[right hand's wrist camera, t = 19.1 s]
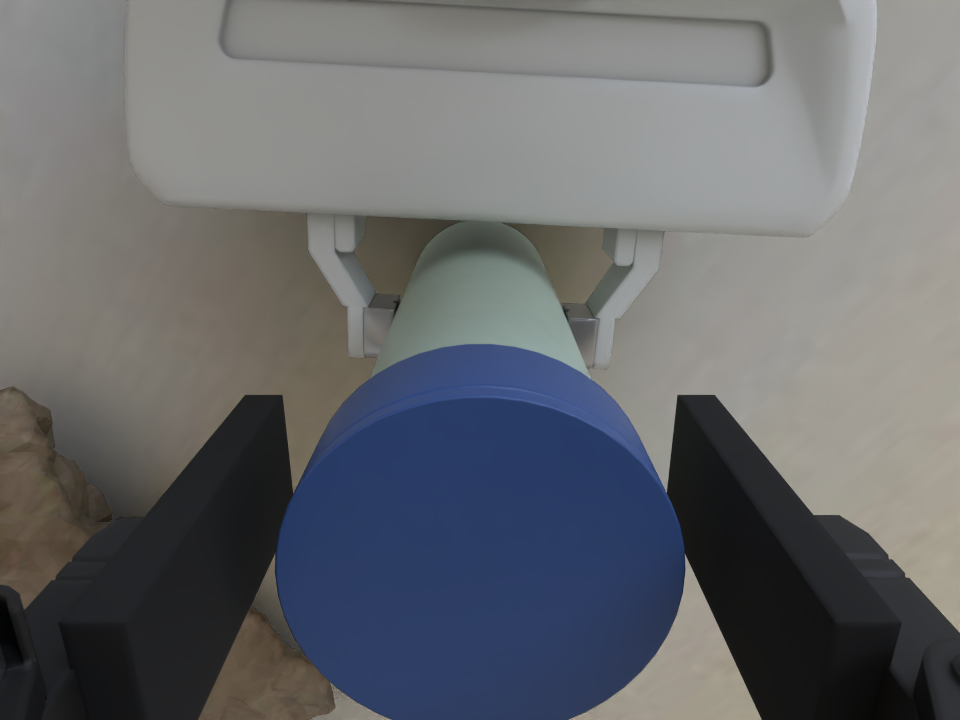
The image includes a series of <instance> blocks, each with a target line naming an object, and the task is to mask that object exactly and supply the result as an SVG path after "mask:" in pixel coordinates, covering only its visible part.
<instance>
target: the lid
mask: <svg viewBox="0 0 960 720" xmlns="http://www.w3.org/2000/svg"><path fill="white" fill-rule="evenodd" d="M275 576H276V583H277V591H278V597H279V600H280V604H281V607H282V610H283V614H284V617H285V619H286V622H287V624H288V626H289V628H290V630H291V632H292V634H293V637H294V638H295V640H296V641H297V643H298V645H299V646H300V648H301V649H302V651H303V652H304V654H305V655H306V657H307V658H308V659H309V660H310V661H311V663H312V664H313V665H314V666H315V667H316V668H317V670H318V671H319V672H320V673H321V674H322V675H323V676H324V677H325V678H326V679H328V680H329V681H330V682H331V683H332V684H333V685H334V686H335V687H336V688H337V689H339V690H340V691H342V692H343V693H344V694H346V695H347V696H349V697H350V698H352V699H353V700H354V701H356V702H357V703H359V704H361V705H363V706H365V707H366V708H368V709H370V710H372V711H374V712H375V713H377V714H380V715H382V716H385V717H387V718H389V719H392V720H569V719H571V718H573V717H576V716H578V715H580V714H583V713H585V712H587V711H589V710H590V709H592V708H594V707H596V706H597V705H599V704H601V703H603V702H604V701H606V700H608V699H609V698H610V697H612V696H613V695H614V694H616V693H617V692H618V691H620V690H621V689H623V688H624V687H625V686H626V685H627V684H628V683H629V682H631V681H632V680H633V679H634V678H635V677H636V676H637V675H638V674H639V673H640V672H641V671H642V670H643V669H644V668H645V666H646V665H647V664H648V663H649V662H650V660H651V659H652V658H653V657H654V656H655V654H656V653H657V651H658V650H659V648H660V647H661V645H662V643H663V642H664V640H665V639H666V637H667V635H668V633H669V631H670V629H671V626H672V624H673V622H674V620H675V617H676V615H677V612H678V608H679V605H680V601H681V597H682V594H683V586H684V578H685V549H684V543H683V538H682V533H681V528H680V524H679V522H678V519H677V516H676V514H675V511H674V508H673V506H672V503H671V501H670V499H669V497H668V495H667V493H666V491H665V489H664V487H663V485H662V483H661V481H660V479H659V476H658V474H657V472H656V470H655V468H654V466H653V464H652V462H651V460H650V458H649V456H648V454H647V452H646V450H645V448H644V446H643V444H642V442H641V440H640V437H639V436H638V434H637V432H636V430H635V428H634V427H633V425H632V423H631V421H630V420H629V418H628V417H627V415H626V414H625V413H624V411H623V410H622V409H621V408H620V406H619V405H618V404H617V402H616V401H615V400H614V399H613V398H612V397H611V396H610V395H609V394H608V393H607V392H606V391H605V390H604V389H602V388H601V387H600V386H599V385H598V384H597V383H595V382H594V381H592V380H591V379H590V378H588V377H587V376H586V375H584V374H583V373H582V372H580V371H578V370H576V369H574V368H572V367H571V366H569V365H567V364H565V363H563V362H561V361H559V360H557V359H554V358H551V357H549V356H546V355H544V354H541V353H538V352H534V351H530V350H526V349H522V348H518V347H513V346H504V345H496V344H464V345H456V346H448V347H442V348H438V349H434V350H430V351H426V352H423V353H419V354H416V355H414V356H411V357H409V358H406V359H404V360H401V361H399V362H397V363H395V364H393V365H391V366H390V367H388V368H386V369H384V370H382V371H381V372H379V373H377V374H376V375H374V376H373V377H372V378H370V379H369V380H368V381H366V382H365V383H364V384H363V385H361V386H360V387H359V388H358V389H357V390H356V391H355V392H354V393H353V394H352V395H351V396H350V397H349V398H348V399H347V400H346V401H345V402H344V403H343V404H342V405H341V406H340V408H339V409H338V410H337V412H336V413H335V414H334V416H333V417H332V418H331V420H330V422H329V423H328V425H327V427H326V429H325V431H324V433H323V434H322V436H321V438H320V440H319V442H318V444H317V446H316V448H315V450H314V453H313V455H312V457H311V459H310V461H309V463H308V465H307V467H306V469H305V471H304V473H303V475H302V477H301V479H300V481H299V483H298V485H297V488H296V490H295V492H294V494H293V496H292V498H291V500H290V502H289V504H288V506H287V509H286V512H285V515H284V517H283V520H282V523H281V526H280V529H279V535H278V540H277V546H276V555H275Z"/></svg>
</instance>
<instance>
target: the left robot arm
mask: <svg viewBox="0 0 960 720" xmlns="http://www.w3.org/2000/svg"><path fill="white" fill-rule="evenodd" d="M876 33H877V3H876V0H127V2H126V18H125V44H124V100H125V123H126V139H127V149H128V157H129V162H130V165H131V168H132V170H133V171H134V173H135V174H136V175H137V177H138V178H139V179H140V180H141V181H142V183H143V184H144V185H145V186H146V187H147V189H148V190H149V191H150V192H151V193H152V195H153V196H154V197H155V198H156V199H157V200H158V201H159V202H161V203H162V204H164V205H168V206H179V207H198V208H218V209H238V210H258V211H278V212H298V213H307V231H308V251H309V253H310V255H311V256H312V258H313V259H314V261H315V263H316V264H317V266H318V267H319V269H320V271H321V272H322V274H323V275H324V277H325V279H326V280H327V282H328V283H329V285H330V286H331V288H332V290H333V291H334V293H335V294H336V296H337V298H338V299H339V301H340V302H341V304H342V306H345V307H347V329H348V353H349V357H354V358H378V355H379V353H380V351H381V348H382V346H383V343H384V341H385V338H386V336H387V334H388V331H389V329H390V326H391V324H392V322H393V319H394V317H395V314H396V312H397V309H398V307H399V305H400V295H390V294H376V291H375V289H374V288H373V286H372V284H371V282H370V280H369V279H368V277H367V275H366V273H365V271H364V269H363V268H362V266H361V264H360V262H359V260H358V259H357V257H356V255H355V253H354V251H353V250H354V249H355V248H356V247H357V246H358V245H359V243H360V242H361V241H362V240H363V239H364V238H365V237H366V216H378V217H397V218H417V219H437V220H457V221H477V222H497V223H517V224H537V225H557V226H577V227H597V228H604V235H603V245H602V249H603V250H604V251H605V253H606V254H607V255H608V256H609V257H610V258H611V259H612V260H613V261H614V263H613V264H612V266H611V267H610V268H609V270H608V271H607V273H606V274H605V276H604V277H603V279H602V280H601V281H600V283H599V284H598V286H597V287H596V289H595V290H594V292H593V293H592V294H591V296H590V297H589V299H588V300H587V302H586V303H587V304H579V303H562V310H563V312H564V314H565V317H566V319H567V322H568V324H569V327H570V329H571V331H572V334H573V336H574V339H575V341H576V343H577V346H578V348H579V351H580V353H581V356H582V358H583V360H584V363H585V365H586V368H588V369H607V368H608V366H609V363H610V357H611V349H612V340H613V332H614V324H615V320H619V319H620V318H621V317H622V315H623V314H624V313H625V311H626V310H627V309H628V308H629V306H630V305H631V304H632V302H633V301H634V300H635V299H636V297H637V296H638V295H639V294H640V292H641V291H642V290H643V288H644V287H645V286H646V285H647V283H648V282H649V281H650V279H651V278H652V277H653V276H654V274H655V273H656V272H657V271H658V269H659V264H660V258H661V251H662V244H663V237H664V231H677V232H697V233H717V234H737V235H757V236H777V237H798V238H804V237H809V236H811V235H813V234H814V233H815V232H816V231H818V230H819V229H820V228H821V227H822V226H823V225H824V224H825V223H826V222H827V221H828V220H829V219H830V218H831V217H832V216H833V215H834V214H835V213H836V212H837V211H838V210H839V209H840V208H841V207H842V206H843V204H844V202H845V201H846V199H847V196H848V194H849V191H850V188H851V185H852V181H853V178H854V174H855V169H856V165H857V160H858V156H859V151H860V146H861V141H862V136H863V131H864V125H865V119H866V114H867V108H868V101H869V94H870V87H871V80H872V71H873V63H874V54H875V44H876Z"/></svg>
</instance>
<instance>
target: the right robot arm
mask: <svg viewBox="0 0 960 720" xmlns="http://www.w3.org/2000/svg"><path fill="white" fill-rule="evenodd" d="M667 495H668V497H669V499H670V501H671V503H672V506H673V508H674V511H675V514H676V516H677V519H678V522H679V524H680V528H681V533H682V538H683V543H684V549H685V554H686V557H687V559H688V561H689V563H690V565H691V567H692V570H693V572H694V574H695V576H696V578H697V580H698V583H699V585H700V587H701V589H702V591H703V593H704V596H705V598H706V600H707V602H708V604H709V606H710V609H711V611H712V613H713V615H714V617H715V619H716V622H717V624H718V626H719V628H720V630H721V632H722V635H723V637H724V639H725V641H726V643H727V645H728V648H729V650H730V652H731V654H732V656H733V658H734V661H735V663H736V665H737V667H738V669H739V671H740V673H741V676H742V678H743V680H744V682H745V684H746V686H747V689H748V691H749V693H750V695H751V697H752V699H753V702H754V704H755V706H756V708H757V710H758V712H759V715H760V717H761V719H762V720H960V633H959V632H958V631H957V630H956V628H955V627H954V626H953V625H952V624H951V623H950V622H949V621H948V620H947V619H946V618H945V616H944V615H943V614H942V613H941V612H940V611H939V610H938V609H937V608H936V607H935V606H934V604H933V603H932V602H931V601H930V600H929V599H928V598H927V597H926V596H925V595H924V594H923V592H922V591H921V590H920V589H919V588H918V587H917V586H916V585H915V584H914V583H913V582H912V580H911V579H910V578H906V577H905V573H904V572H903V571H902V570H901V568H900V567H899V566H898V565H897V564H896V563H895V562H894V561H893V560H892V559H889V558H888V554H887V553H886V552H885V551H884V550H883V549H882V548H881V547H880V546H879V544H878V543H877V542H876V541H875V540H874V539H873V538H872V537H871V536H870V535H869V534H868V533H867V532H865V531H864V530H862V529H860V528H859V527H857V526H856V525H854V524H852V523H851V522H849V521H848V520H846V519H844V518H843V517H841V516H840V515H813V514H812V513H811V511H810V510H809V509H808V508H807V507H806V505H805V504H804V503H803V502H802V500H801V499H800V498H799V497H798V496H797V494H796V493H795V492H794V491H793V490H792V488H791V487H790V486H789V485H788V483H787V482H786V481H785V480H784V479H783V477H782V476H781V475H780V474H779V473H778V471H777V470H776V469H775V468H774V466H773V465H772V464H771V463H770V462H769V460H768V459H767V458H766V457H765V456H764V454H763V453H762V452H761V451H760V449H759V448H758V447H757V446H756V445H755V443H754V442H753V441H752V440H751V439H750V437H749V436H748V435H747V434H746V432H745V431H744V430H743V429H742V428H741V426H740V425H739V424H738V423H737V422H736V420H735V419H734V418H733V417H732V415H731V414H730V413H729V412H728V411H727V409H726V408H725V407H724V406H723V404H722V403H721V402H720V401H719V400H718V398H717V397H716V396H715V395H678V396H677V405H676V414H675V424H674V433H673V442H672V451H671V460H670V470H669V479H668V488H667ZM292 496H293V488H292V479H291V470H290V460H289V451H288V442H287V433H286V424H285V414H284V405H283V396H282V395H245V396H244V397H243V398H242V400H241V401H240V402H239V403H238V404H237V406H236V407H235V408H234V409H233V411H232V412H231V413H230V414H229V415H228V417H227V418H226V419H225V420H224V422H223V423H222V424H221V425H220V426H219V428H218V429H217V430H216V431H215V432H214V434H213V435H212V436H211V437H210V439H209V440H208V441H207V442H206V443H205V445H204V446H203V447H202V448H201V449H200V451H199V452H198V453H197V454H196V456H195V457H194V458H193V459H192V460H191V462H190V463H189V464H188V465H187V466H186V468H185V469H184V470H183V471H182V473H181V474H180V475H179V476H178V477H177V479H176V480H175V481H174V482H173V483H172V485H171V486H170V487H169V488H168V490H167V491H166V492H165V493H164V494H163V496H162V497H161V498H160V499H159V500H158V502H157V503H156V504H155V505H154V507H153V508H152V509H151V510H150V511H149V513H148V514H147V515H146V516H145V517H121V518H120V519H118V520H116V521H115V522H113V523H112V524H110V525H108V526H107V527H105V528H104V529H102V530H100V531H99V532H97V533H96V534H94V535H93V536H91V537H90V539H89V540H88V541H87V542H86V543H85V544H84V545H83V546H82V547H81V548H80V550H79V551H78V552H77V553H76V554H75V555H74V556H73V557H72V562H68V563H67V564H66V565H65V566H64V567H63V568H62V569H61V570H60V571H59V573H58V574H57V575H56V579H55V580H51V581H50V582H49V584H48V585H47V586H46V587H45V588H44V589H43V590H42V591H41V592H40V593H39V595H38V596H37V597H36V598H35V599H34V600H33V601H32V602H31V603H30V604H29V606H28V607H27V608H26V609H25V610H24V608H23V604H22V601H21V597H20V594H19V593H18V592H17V591H15V590H14V589H12V588H11V587H10V586H7V585H0V720H198V719H199V717H200V715H201V712H202V710H203V708H204V706H205V704H206V702H207V699H208V697H209V695H210V693H211V691H212V689H213V686H214V684H215V682H216V680H217V678H218V676H219V673H220V671H221V669H222V667H223V665H224V663H225V661H226V658H227V656H228V654H229V652H230V650H231V648H232V645H233V643H234V641H235V639H236V637H237V635H238V632H239V630H240V628H241V626H242V624H243V622H244V619H245V617H246V615H247V613H248V611H249V609H250V606H251V604H252V602H253V600H254V598H255V596H256V593H257V591H258V589H259V587H260V585H261V583H262V580H263V578H264V576H265V574H266V572H267V570H268V567H269V565H270V563H271V561H272V559H273V557H274V554H275V552H276V546H277V540H278V535H279V529H280V526H281V523H282V520H283V517H284V515H285V512H286V509H287V506H288V504H289V502H290V500H291V498H292Z"/></svg>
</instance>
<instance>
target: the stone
mask: <svg viewBox="0 0 960 720" xmlns="http://www.w3.org/2000/svg"><path fill="white" fill-rule="evenodd" d="M52 423H53V422H52V417H51V413H50V410H49V409H47V408H46V407H44V406H41V405H39V404H38V403H36V402H34V401H33V400H31V399H30V398H29V397H28V396H27V395H26V394H25V393H24V392H23V391H21V390H19V389H17V388H15V387H10V388H6V389H3V390H0V585H7V586H10V587H11V588H12V589H14V590H15V591H17V592H18V593H19V594H20V597H21V601H22V604H23V608H24V610H25V609H26V608H27V607H28V606H29V604H30V603H31V602H32V601H33V600H34V599H35V598H36V597H37V596H38V595H39V593H40V592H41V591H42V590H43V589H44V588H45V587H46V586H47V585H48V584H49V582H50V581H51V580H55V579H56V575H57V574H58V573H59V571H60V570H61V569H62V568H63V567H64V566H65V565H66V564H67V563H68V562H72V557H73V556H74V555H75V554H76V553H77V552H78V551H79V550H80V548H81V547H82V546H83V545H84V544H85V543H86V542H87V541H88V540H89V539H90V537H91V536H93V535H94V534H96V533H97V532H99V531H100V530H102V529H104V528H105V527H107V526H108V525H110V524H112V523H113V521H112V522H109V521H110V519H111V516H112V511H111V509H110V507H109V505H108V503H107V501H106V499H105V497H104V495H103V494H102V493H101V492H100V491H99V490H98V489H97V488H96V487H94V486H93V485H90V484H87V483H86V481H85V477H84V474H83V473H81V471H80V469H79V468H78V466H77V464H76V462H75V461H73V460H69V459H67V458H65V457H63V456H61V455H59V454H57V453H56V452H55V450H54V446H55V443H54V437H53V431H52ZM333 709H335V703H334V697H333V692H332V688H331V685H330V681H329V680H328V679H326V678H325V677H324V676H323V675H322V674H321V673H320V672H319V671H318V670H317V668H316V667H315V666H314V665H313V664H312V663H311V661H310V660H309V659H308V658H307V657H306V656H304V655H303V654H301V653H300V652H298V651H296V650H294V649H293V648H291V647H289V646H287V645H286V644H285V643H284V642H283V641H282V640H281V639H280V637H279V635H278V634H277V633H276V632H275V631H274V630H273V628H272V626H271V624H270V621H269V619H268V617H267V616H265V615H263V614H261V613H260V612H259V611H257V610H256V609H255V608H254V607H253V606H250V609H249V611H248V613H247V615H246V617H245V619H244V622H243V624H242V626H241V628H240V630H239V632H238V635H237V637H236V639H235V641H234V643H233V645H232V648H231V650H230V652H229V654H228V656H227V658H226V661H225V663H224V665H223V667H222V669H221V671H220V673H219V676H218V678H217V680H216V682H215V684H214V686H213V689H212V691H211V693H210V695H209V697H208V699H207V702H206V704H205V706H204V708H203V710H202V712H201V715H200V717H199V719H198V720H310V719H312V718H313V717H315V716H316V715H323V714H328V713H330V712H331V711H332V710H333Z"/></svg>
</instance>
